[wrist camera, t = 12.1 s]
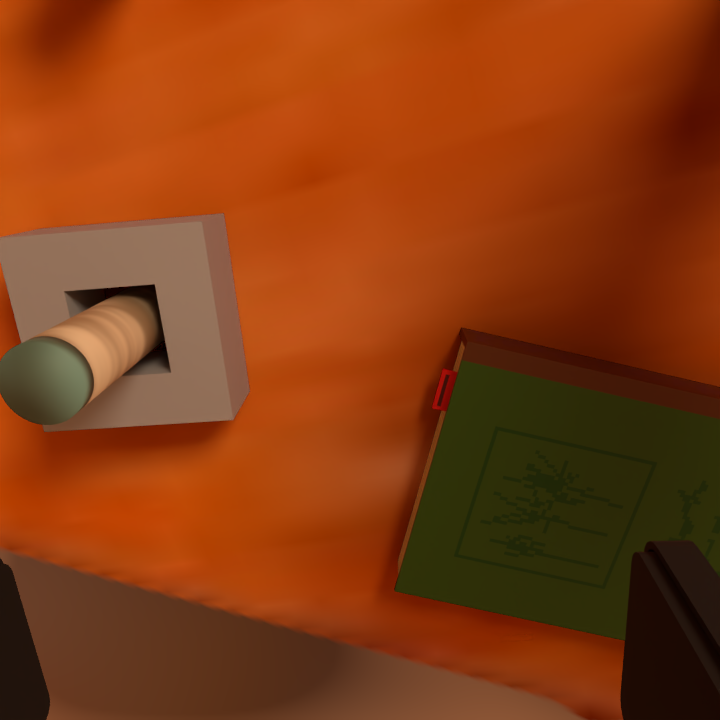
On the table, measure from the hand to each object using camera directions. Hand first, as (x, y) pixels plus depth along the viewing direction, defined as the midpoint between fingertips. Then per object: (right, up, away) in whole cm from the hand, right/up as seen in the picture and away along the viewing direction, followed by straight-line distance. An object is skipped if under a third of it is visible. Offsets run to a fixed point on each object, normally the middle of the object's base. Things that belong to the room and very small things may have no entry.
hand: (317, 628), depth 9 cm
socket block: (-13, +7, +32) cm, 36 cm away
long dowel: (-13, +7, +32) cm, 36 cm away
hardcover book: (+17, -5, +36) cm, 40 cm away
